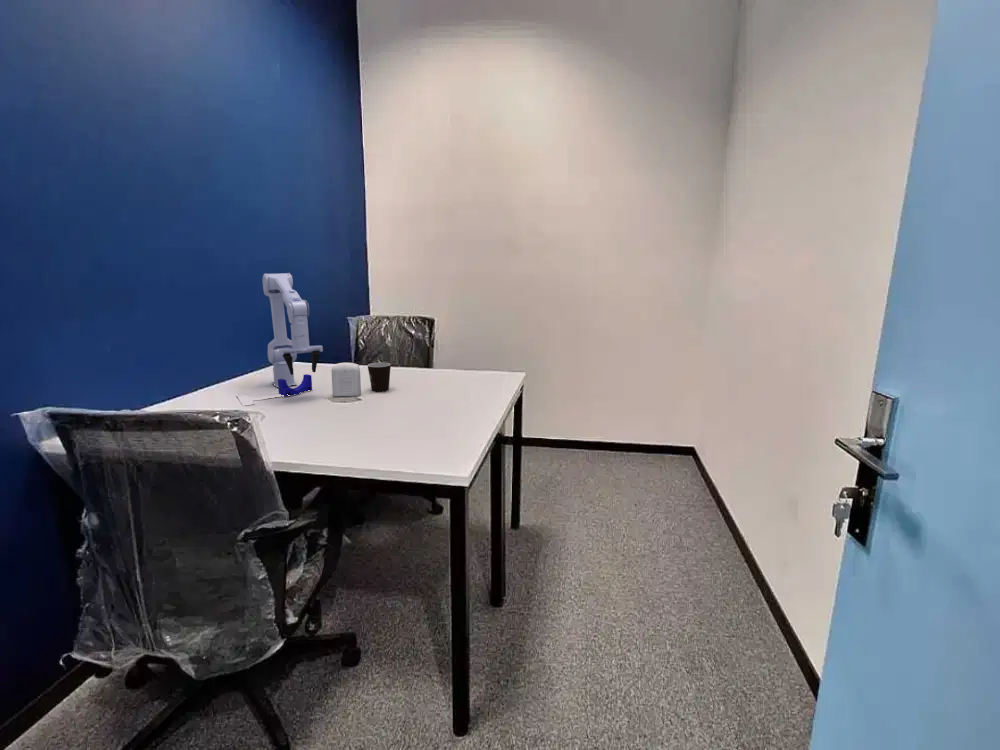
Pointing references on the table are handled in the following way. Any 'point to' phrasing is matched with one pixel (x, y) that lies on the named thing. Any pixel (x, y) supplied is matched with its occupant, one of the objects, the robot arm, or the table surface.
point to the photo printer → (346, 379)
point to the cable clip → (304, 386)
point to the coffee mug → (379, 376)
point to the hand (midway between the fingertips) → (303, 373)
